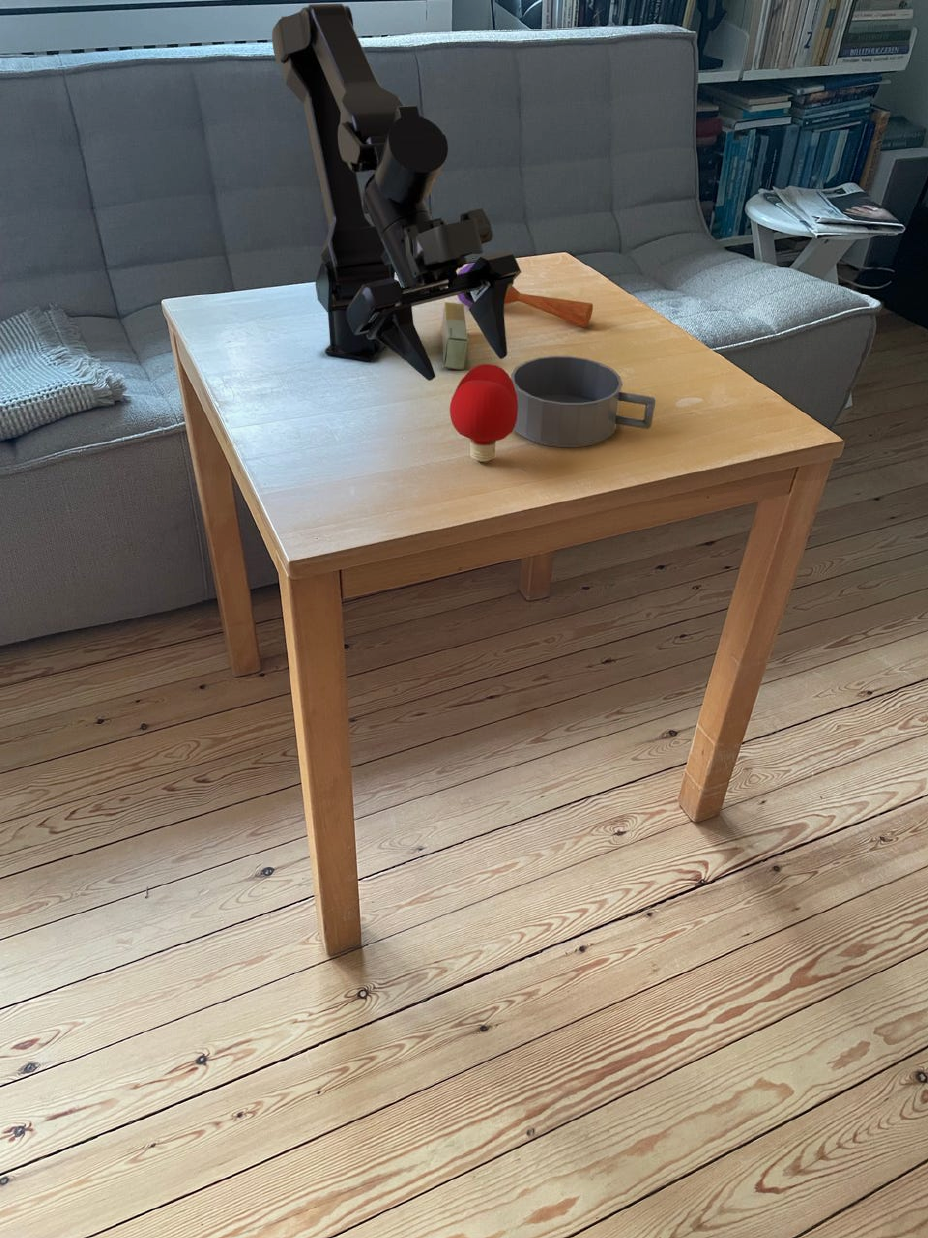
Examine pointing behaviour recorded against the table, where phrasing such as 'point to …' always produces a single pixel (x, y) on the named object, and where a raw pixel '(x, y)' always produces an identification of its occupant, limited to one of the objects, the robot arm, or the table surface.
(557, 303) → the maraca
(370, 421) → the table surface
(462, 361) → the medication box
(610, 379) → the measuring cup
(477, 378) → the light bulb
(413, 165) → the robot arm
